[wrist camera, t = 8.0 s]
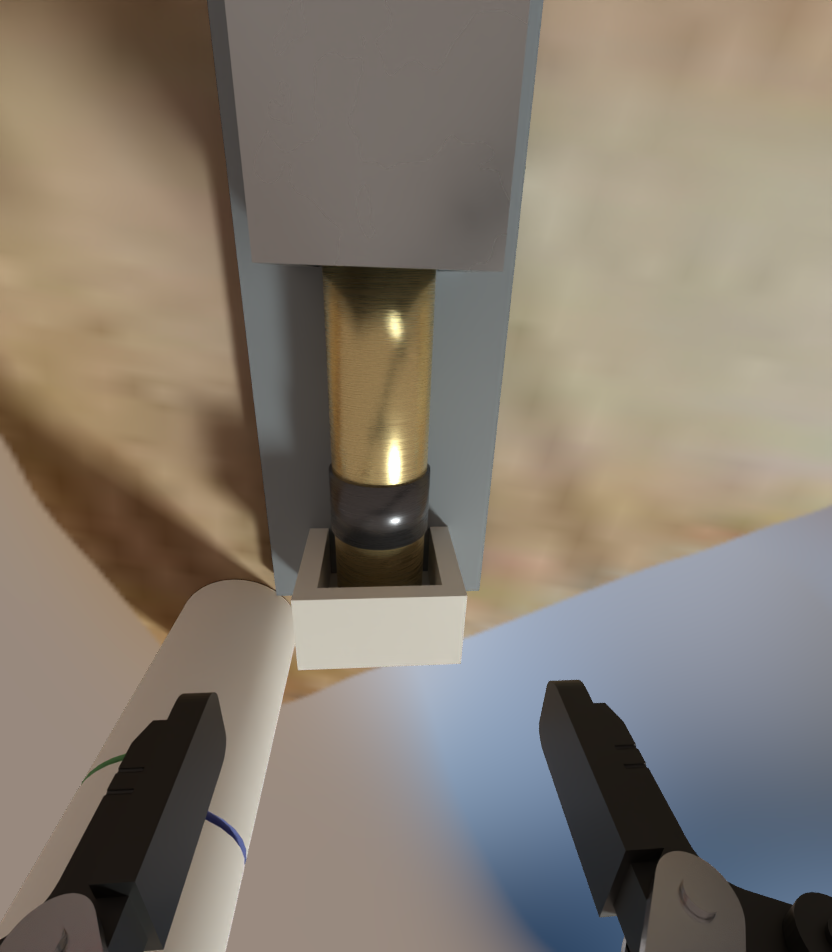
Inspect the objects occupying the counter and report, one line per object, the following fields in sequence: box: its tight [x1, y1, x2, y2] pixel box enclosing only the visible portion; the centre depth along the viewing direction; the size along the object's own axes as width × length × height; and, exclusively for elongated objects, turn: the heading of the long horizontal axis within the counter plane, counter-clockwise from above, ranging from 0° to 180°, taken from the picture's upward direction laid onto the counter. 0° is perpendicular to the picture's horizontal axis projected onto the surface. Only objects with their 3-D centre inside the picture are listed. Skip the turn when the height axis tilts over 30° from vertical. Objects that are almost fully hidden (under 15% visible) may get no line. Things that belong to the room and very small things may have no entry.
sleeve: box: [224, 0, 530, 273], centre depth 15 cm, size 10×8×7 cm
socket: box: [291, 527, 467, 670], centre depth 23 cm, size 4×8×6 cm, turn 88°
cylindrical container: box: [0, 580, 295, 952], centre depth 17 cm, size 7×7×25 cm
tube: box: [322, 265, 436, 588], centre depth 20 cm, size 18×5×5 cm, turn 178°
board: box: [207, 0, 543, 596], centre depth 22 cm, size 28×12×2 cm, turn 178°
